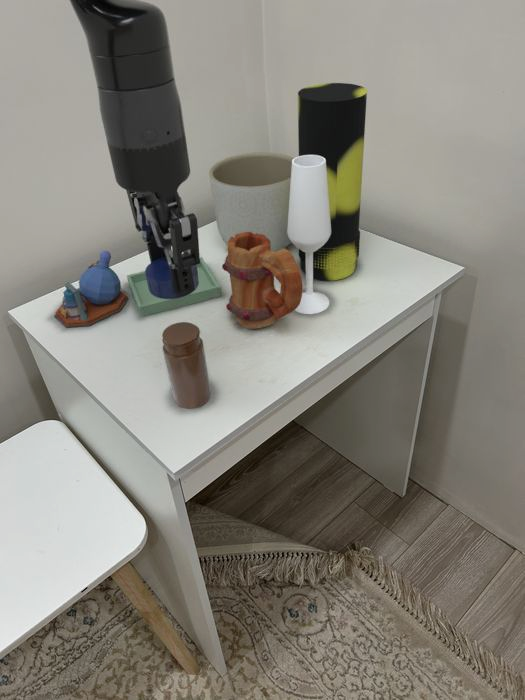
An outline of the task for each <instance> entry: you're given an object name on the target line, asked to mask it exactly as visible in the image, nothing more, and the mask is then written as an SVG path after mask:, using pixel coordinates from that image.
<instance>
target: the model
mask: <svg viewBox="0 0 525 700" xmlns="http://www.w3.org/2000/svg"><path fill="white" fill-rule="evenodd" d="M111 259H112V255H111V252H110V251H109V250H102V251H101V252H100V254H99V258H98V260H96V262H93V263H91V264H90V265H89V266H88V267H87V269H86V270H85V271H83V273H82V274H81V275H80V278H79V280H78V288H76V287H75V286H74V285H72V284H71V283H70V282H65V283H64V288H65V290H64V291H63V297H62V302H61V303H62V304H61V306H59V308H58V309H57V310H56V311H55V314H54V315H53V317H54V318H55V319H56V320H57V321H58V322H60V324H62V326H63V327H64V328H66V329H69V328H70V329H71V328H84V327H90V326H92V325H94V324H97V323H99V322H101V321H103V320H105V319H108V318H110V317H112V316H114V315H116V314H118V313H120V312H121V311H122V310H123V308H124V307H125V305H126V304H127V303H128V300H129V296H127V294H126V293H124V291H123V292H122V291H121V289H122V285H121V284H122V283H121V279H120V278H119V276H118V274H117V273H116V272H115V270H113V269H112V268H111V267H110V262H111Z"/></svg>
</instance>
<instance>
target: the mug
mask: <svg viewBox="0 0 525 700" xmlns="http://www.w3.org/2000/svg"><path fill="white" fill-rule="evenodd" d="M226 245H227V255H226V256H225V260H224V263H223V264H222V265H221V268H222V270H223V271H224V272H227V273H228V274H229V281H230V287H231V295H230V297H229V299H228V303H227V304H226V306H225V308H226V310H227V311H228V312H230V313H231V314H232V315H233V316H234V319H235V320H236V321H237V322H238V324H239V325H240V326H242V327H244V328H246V329H261V328H266V327H269V326H271V325H273V324H274V323H275V322H277V320H278V319H281V318H284V317H285V316H287V315H289V314H291V313H293V312H295V309H296V308H297V307H298V306H299V304H300V302H301V298H302V292H304V289H303V288H304V284H303V278H302V274H301V269H300V267H299V265H298V262H297V261H296V259H295V258H294V255H293V253H291V252H290V250H288V249H287V248H284V249H281V250H279V251H277V252H273V251H271V245H270V240H269V239H268V238H266V236H265V235H263V234H258V233H256V234H253V233H252V232H244V233H239V234H236V235H235V238H234V237H230V239H229V241H228V244H226ZM275 279H276V280H277V282H278V283H279V284H280V287H279V288H280V291H278V290H277V289H276V288H275Z"/></svg>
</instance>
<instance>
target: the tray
mask: <svg viewBox="0 0 525 700" xmlns="http://www.w3.org/2000/svg"><path fill="white" fill-rule="evenodd" d="M196 266H197V272H198V280H199V284H198V287H197V288H196V290H195V291H193V292H192V293H190V294H189V295H187V296H184V297H181V298H176V299H162V298H158V297H155V296H153V295H152V294H151V293H150V291H149V288H148V284H147V279H146V275H145V270H143V271H139V272H136V273H131V274H127V275H126V280H127V284H128V286H129V289H130V292H131V294H132V295H131V296H132V297H133V299H134V302H135V305H136V308H137V311H138V313H139V316H140V318H143V317H147V316H150V315H155V314H158V313H162V312H166V311H170V310H174V309H178V308H182V307H185V306H190V305H192V304H197V303H201V302H204V301H209V300H212V299H217V298H219V297H222V290H221V286H220V284H219V282H218V281H217V280H216V278H215V276H214V275H213V273H212V271H211V269H210V268H209V266H208V265H207V263H206V262H205V260H204V259H203V257H200V264H198V265H196Z"/></svg>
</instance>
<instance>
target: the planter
mask: <svg viewBox="0 0 525 700" xmlns="http://www.w3.org/2000/svg"><path fill="white" fill-rule="evenodd" d="M294 158H295V157H293V156H290V155H288V154H283V153H278V152H266V151H265V152H264V151H261V152H257V151H256V152H247V153H241V154H235V155H233V156H229V157H226V158H224V159H221V160H219V161H217V162H216V163H214V164H213V165H212V166H211V167H210V169H209V171H208V177H209V185H210V192H211V199H212V206H213V212H214V217H215V222H216V226H217V230H218V233H219V236H220V238H221V240H223V242H224V243H225V244H226V245H227V244H228V241H229V239H230V237H234V238H235V235H236V234H239V233H244V232H252V233H253V234H256V233H258V234H263V235H265V236H266V238H268V239H269V240H270V245H271V251H273V252H277V251H279V250H281V249H286V248H287V247H288V246H289V245H290V244H291V243H292V242H291V240H290V239H289V237H288V234H287V228H288V213H289V198H290V184H291V169H292V160H293V159H294Z"/></svg>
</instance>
